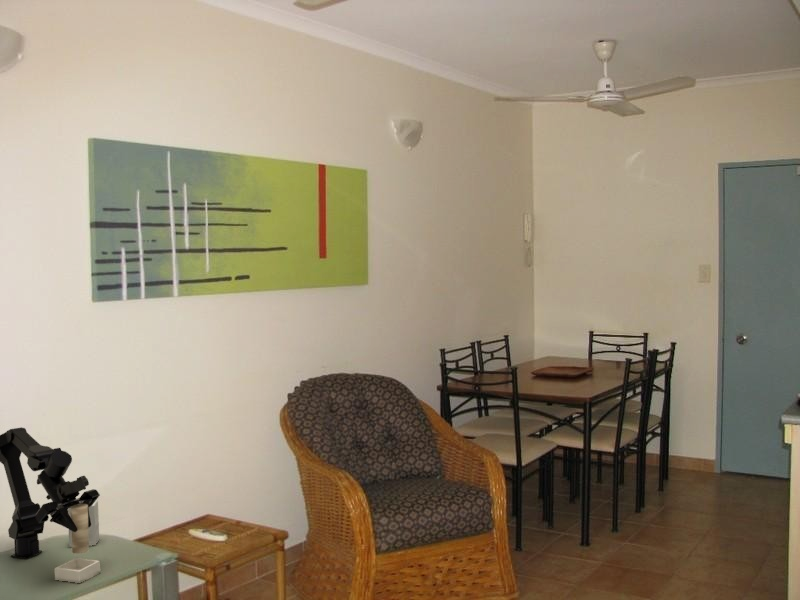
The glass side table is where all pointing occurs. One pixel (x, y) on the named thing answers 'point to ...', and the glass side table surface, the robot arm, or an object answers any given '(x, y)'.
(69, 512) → the small box
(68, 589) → the glass side table surface
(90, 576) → the white square tray
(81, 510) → the tan rounded rod
